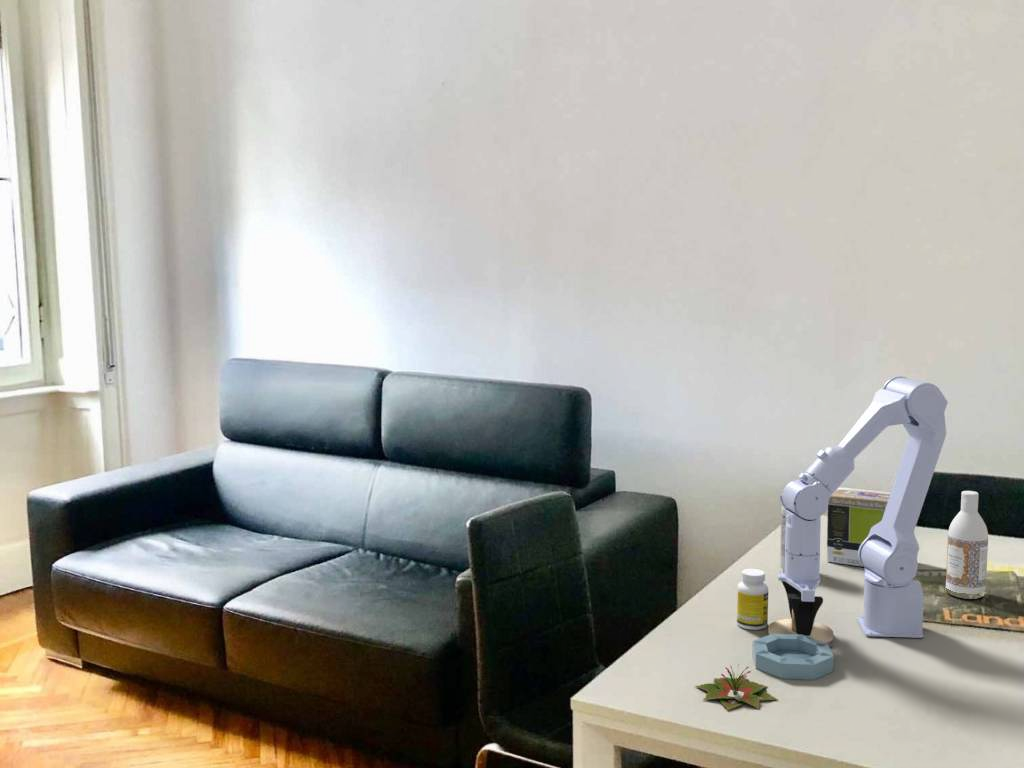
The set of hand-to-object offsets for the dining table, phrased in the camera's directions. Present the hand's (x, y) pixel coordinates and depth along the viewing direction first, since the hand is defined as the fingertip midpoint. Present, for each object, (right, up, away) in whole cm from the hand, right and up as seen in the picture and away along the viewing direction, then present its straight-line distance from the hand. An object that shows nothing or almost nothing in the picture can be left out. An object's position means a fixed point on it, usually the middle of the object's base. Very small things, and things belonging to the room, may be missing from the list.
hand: (800, 627), depth 174 cm
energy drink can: (+8, +3, +34) cm, 35 cm away
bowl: (-4, -3, -11) cm, 12 cm away
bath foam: (+37, +2, +19) cm, 41 cm away
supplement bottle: (-7, -1, +6) cm, 9 cm away
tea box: (+25, +4, +39) cm, 47 cm away
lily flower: (-16, -6, -21) cm, 27 cm away
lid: (0, -1, 0) cm, 1 cm away
